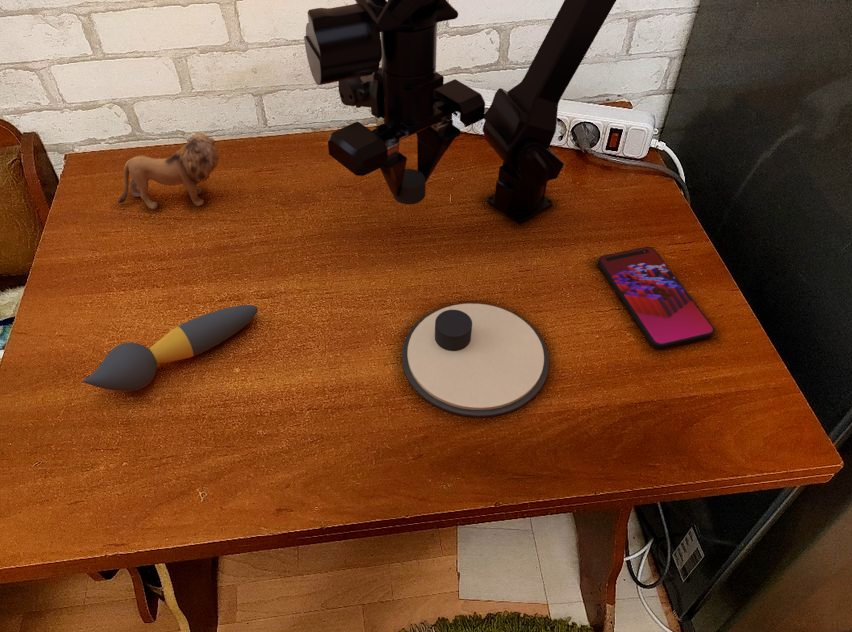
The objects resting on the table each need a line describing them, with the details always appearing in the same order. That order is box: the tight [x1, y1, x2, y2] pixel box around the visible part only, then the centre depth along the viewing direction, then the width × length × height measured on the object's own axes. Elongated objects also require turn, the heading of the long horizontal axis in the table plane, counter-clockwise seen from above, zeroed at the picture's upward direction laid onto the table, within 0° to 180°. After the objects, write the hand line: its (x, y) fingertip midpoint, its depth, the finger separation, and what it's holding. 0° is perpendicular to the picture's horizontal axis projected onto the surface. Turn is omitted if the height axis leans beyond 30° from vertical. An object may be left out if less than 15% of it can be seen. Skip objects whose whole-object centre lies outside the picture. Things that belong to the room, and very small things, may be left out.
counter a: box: [435, 310, 472, 351], centre depth 75 cm, size 4×4×2 cm
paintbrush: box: [81, 304, 259, 392], centre depth 74 cm, size 20×5×5 cm, turn 134°
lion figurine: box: [117, 132, 220, 210], centre depth 90 cm, size 15×5×9 cm, turn 103°
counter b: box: [392, 168, 426, 205], centre depth 83 cm, size 4×4×2 cm
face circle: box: [401, 302, 550, 418], centre depth 75 cm, size 16×16×1 cm
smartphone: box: [597, 246, 716, 350], centre depth 80 cm, size 8×1×15 cm
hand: (409, 187), depth 83 cm, fingers closed on counter b, 4 cm apart
